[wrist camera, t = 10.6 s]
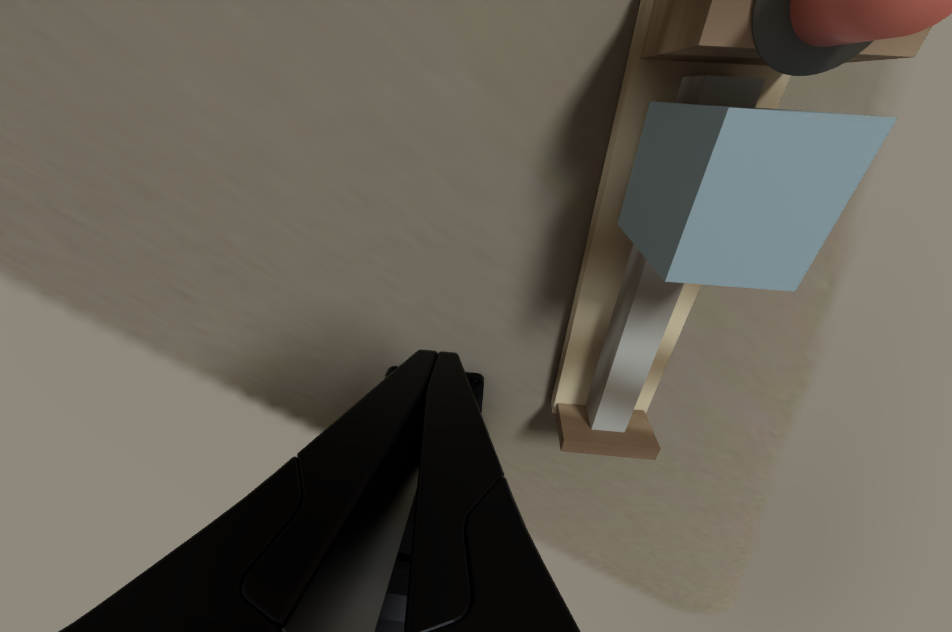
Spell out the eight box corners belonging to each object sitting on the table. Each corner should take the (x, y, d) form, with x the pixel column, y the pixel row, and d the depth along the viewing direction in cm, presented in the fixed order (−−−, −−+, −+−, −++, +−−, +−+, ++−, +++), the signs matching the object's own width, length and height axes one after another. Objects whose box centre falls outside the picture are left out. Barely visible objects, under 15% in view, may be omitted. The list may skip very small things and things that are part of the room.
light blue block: (708, 230, 17) (795, 291, 12) (617, 224, 17) (664, 281, 12) (758, 107, 14) (897, 118, 9) (649, 101, 14) (729, 107, 9)
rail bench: (637, 410, 25) (672, 493, 20) (550, 402, 25) (562, 482, 20) (819, -35, 13) (1027, -116, 8) (650, -43, 13) (743, -128, 8)
